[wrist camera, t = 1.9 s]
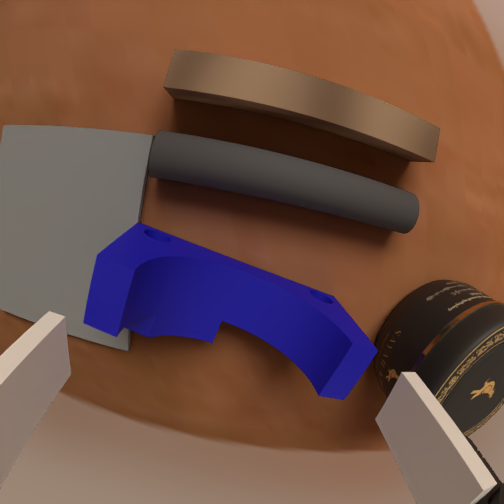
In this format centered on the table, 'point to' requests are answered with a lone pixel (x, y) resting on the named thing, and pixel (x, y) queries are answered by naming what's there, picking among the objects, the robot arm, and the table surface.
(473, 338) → the jar
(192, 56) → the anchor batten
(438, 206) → the table surface
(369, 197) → the rod
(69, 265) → the mat
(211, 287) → the cable clip
